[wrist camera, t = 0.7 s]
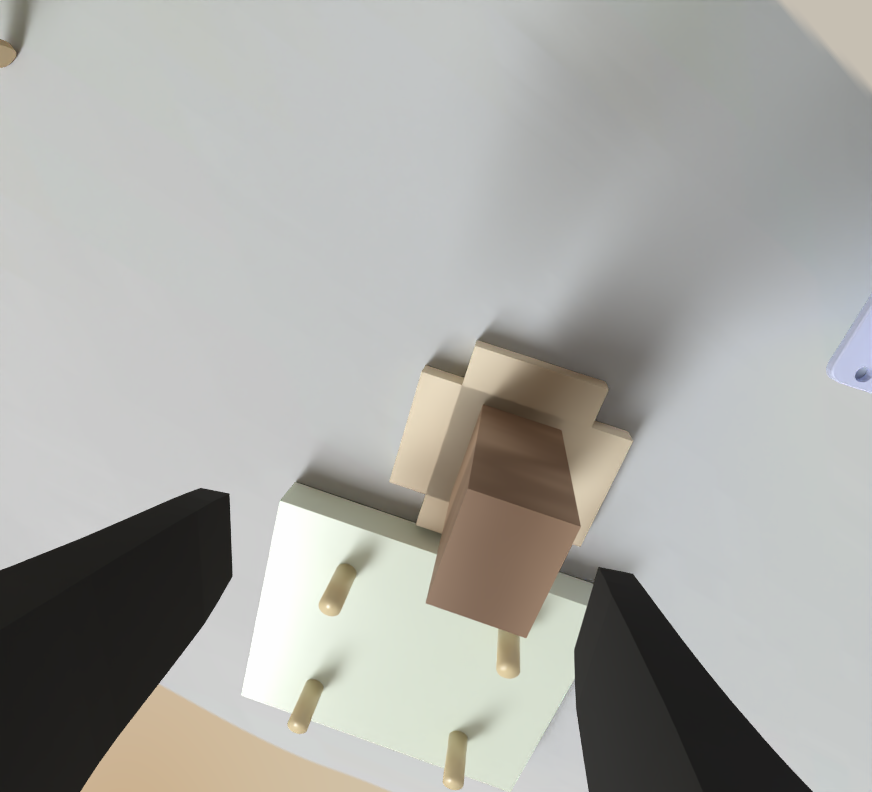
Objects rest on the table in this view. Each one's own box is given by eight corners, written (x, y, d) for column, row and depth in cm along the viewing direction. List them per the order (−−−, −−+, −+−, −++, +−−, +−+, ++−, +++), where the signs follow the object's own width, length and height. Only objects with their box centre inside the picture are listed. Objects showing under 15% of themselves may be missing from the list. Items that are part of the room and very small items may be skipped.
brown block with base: (645, 393, 18) (715, 494, 12) (563, 560, 21) (583, 714, 15) (437, 326, 19) (394, 387, 12) (385, 499, 22) (328, 624, 15)
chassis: (604, 587, 21) (620, 656, 18) (510, 760, 26) (509, 840, 22) (295, 481, 22) (255, 529, 18) (255, 669, 26) (218, 734, 23)
